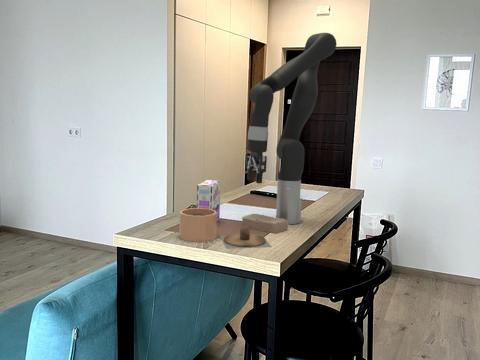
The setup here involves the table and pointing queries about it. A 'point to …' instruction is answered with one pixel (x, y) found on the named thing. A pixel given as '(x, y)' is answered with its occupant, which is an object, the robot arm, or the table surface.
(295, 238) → the table surface
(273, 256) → the table surface
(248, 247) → the mat
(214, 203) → the candy box
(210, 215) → the pot
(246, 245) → the lid
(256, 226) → the brick
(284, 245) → the table surface
